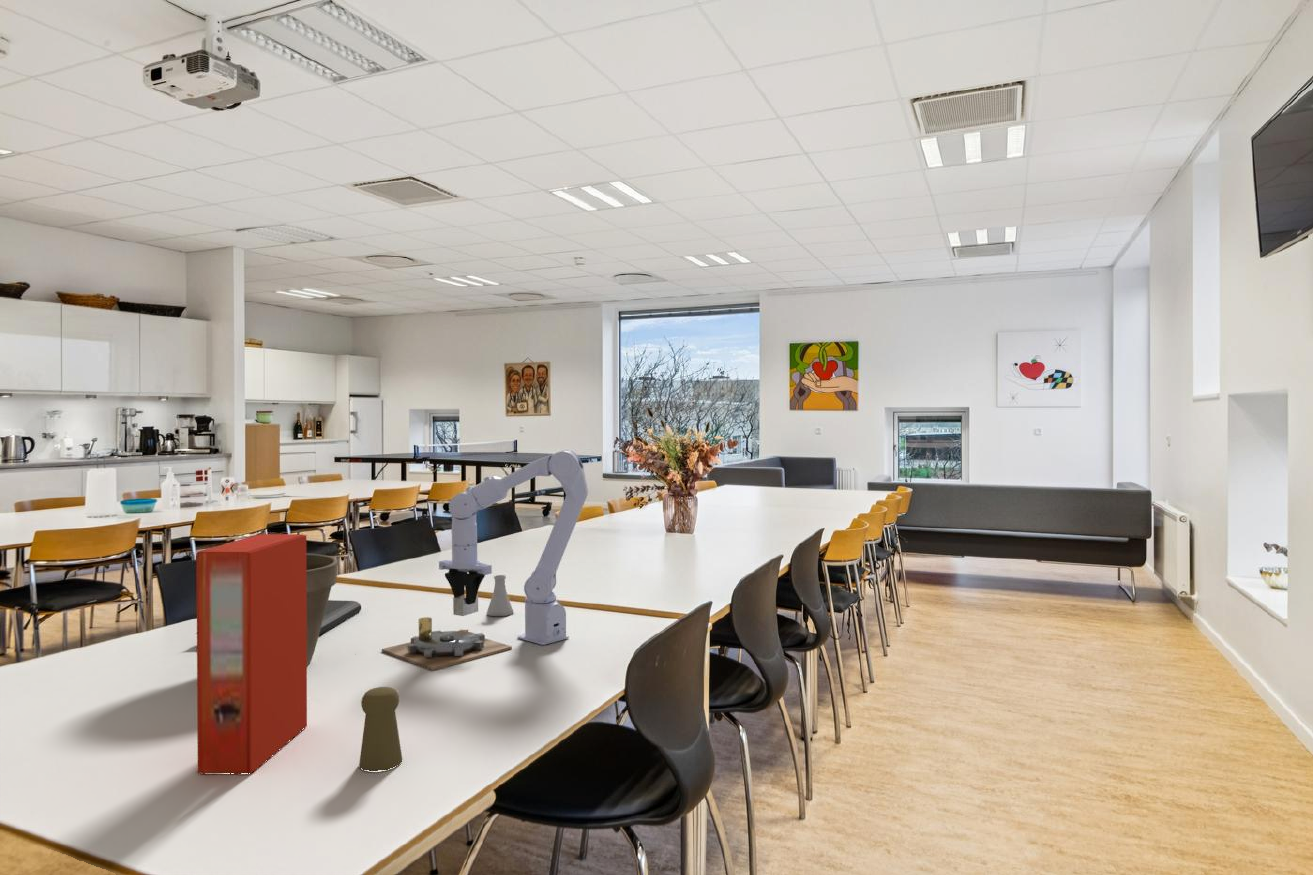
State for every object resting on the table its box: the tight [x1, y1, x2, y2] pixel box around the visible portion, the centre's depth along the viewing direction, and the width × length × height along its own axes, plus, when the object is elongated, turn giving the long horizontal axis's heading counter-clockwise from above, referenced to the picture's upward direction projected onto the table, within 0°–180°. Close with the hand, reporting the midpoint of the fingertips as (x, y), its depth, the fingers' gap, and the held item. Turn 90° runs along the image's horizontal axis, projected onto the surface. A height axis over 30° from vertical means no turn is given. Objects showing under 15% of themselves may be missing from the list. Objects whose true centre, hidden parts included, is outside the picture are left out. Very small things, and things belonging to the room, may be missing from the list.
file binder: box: [195, 533, 308, 775], centre depth 120 cm, size 8×17×32 cm, turn 179°
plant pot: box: [306, 553, 339, 667], centre depth 161 cm, size 25×25×22 cm
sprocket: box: [408, 616, 486, 658], centre depth 172 cm, size 17×17×6 cm
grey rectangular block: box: [452, 593, 479, 617], centre depth 182 cm, size 3×5×4 cm, turn 150°
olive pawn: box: [358, 686, 403, 771], centre depth 115 cm, size 6×6×11 cm
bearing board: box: [381, 637, 513, 671], centre depth 172 cm, size 20×20×1 cm
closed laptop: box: [195, 599, 362, 637], centre depth 191 cm, size 33×4×24 cm
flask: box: [486, 574, 514, 617], centre depth 205 cm, size 7×7×10 cm
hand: (465, 602), depth 182 cm, fingers closed on grey rectangular block, 3 cm apart
